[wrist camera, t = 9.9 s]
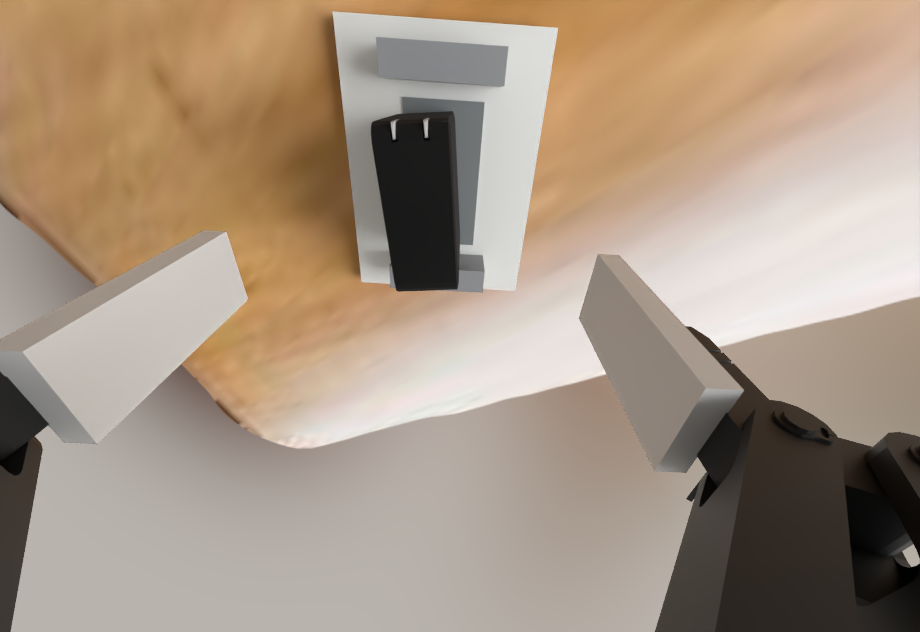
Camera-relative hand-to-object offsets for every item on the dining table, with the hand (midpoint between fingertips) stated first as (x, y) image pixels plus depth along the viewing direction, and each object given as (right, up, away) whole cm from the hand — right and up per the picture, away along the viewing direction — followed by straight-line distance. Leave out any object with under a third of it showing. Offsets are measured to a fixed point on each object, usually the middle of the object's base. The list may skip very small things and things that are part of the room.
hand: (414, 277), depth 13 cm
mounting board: (0, +11, +17) cm, 20 cm away
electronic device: (-1, +10, +16) cm, 19 cm away
